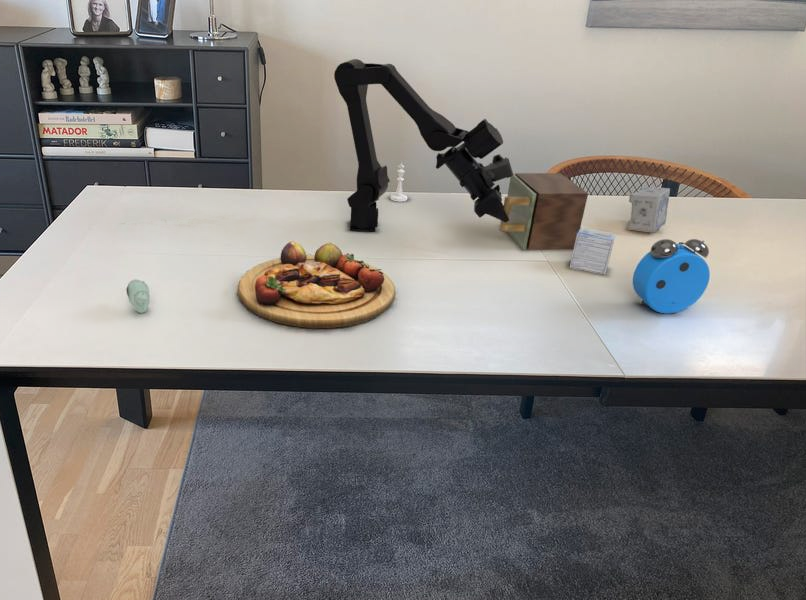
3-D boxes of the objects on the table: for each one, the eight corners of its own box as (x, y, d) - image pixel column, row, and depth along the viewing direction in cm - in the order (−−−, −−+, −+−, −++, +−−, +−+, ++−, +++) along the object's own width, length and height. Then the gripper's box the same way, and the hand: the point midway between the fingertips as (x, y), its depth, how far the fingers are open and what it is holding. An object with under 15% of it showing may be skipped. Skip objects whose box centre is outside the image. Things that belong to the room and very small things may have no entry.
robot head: (152, 321, 131) (149, 288, 128) (130, 323, 130) (126, 290, 127) (149, 302, 138) (146, 270, 134) (128, 304, 137) (124, 272, 133)
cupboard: (528, 250, 169) (539, 193, 161) (505, 226, 182) (515, 173, 175) (575, 249, 170) (588, 193, 163) (549, 226, 184) (560, 173, 176)
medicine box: (607, 268, 161) (616, 232, 156) (604, 275, 158) (614, 239, 153) (572, 261, 164) (580, 226, 159) (568, 268, 160) (577, 232, 156)
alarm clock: (683, 301, 148) (705, 234, 140) (699, 315, 142) (723, 245, 135) (624, 302, 146) (643, 234, 138) (638, 316, 141) (659, 246, 133)
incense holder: (633, 219, 191) (643, 182, 185) (664, 227, 186) (675, 189, 181) (620, 229, 184) (630, 190, 179) (652, 237, 180) (663, 197, 174)
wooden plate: (275, 346, 125) (275, 304, 121) (216, 276, 149) (214, 240, 145) (425, 313, 138) (429, 274, 134) (348, 254, 162) (350, 220, 158)
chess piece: (407, 202, 196) (411, 166, 191) (390, 201, 196) (393, 165, 191) (406, 196, 200) (410, 161, 195) (389, 195, 200) (392, 160, 195)
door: (499, 250, 168) (509, 194, 161) (480, 226, 181) (488, 173, 174) (525, 249, 168) (536, 194, 161) (505, 226, 182) (514, 173, 175)
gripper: (498, 157, 150) (541, 211, 154) (493, 136, 166) (531, 186, 170) (456, 190, 155) (499, 242, 159) (455, 167, 170) (494, 214, 175)
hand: (507, 219), depth 166 cm, fingers closed on door, 2 cm apart
